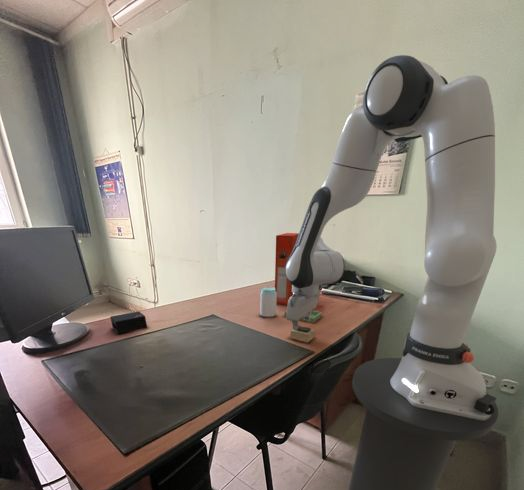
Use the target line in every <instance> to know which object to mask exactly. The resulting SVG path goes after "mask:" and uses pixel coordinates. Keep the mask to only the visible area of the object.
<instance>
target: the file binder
mask: <svg viewBox="0 0 524 490" xmlns="http://www.w3.org/2000/svg"><path fill="white" fill-rule="evenodd" d="M298 235H299V232H286V233H281V234H277V235H275V261H274V262H275V264H274V265H275V266H274V267H275V268H274V288H275V291H276V292H277V299H276V305H280V306H281V305H282V306H287V305H288V300H289V298H290V297H291V296H292V295H293V292H292V284H291V283H290V282H289V281H288V279H287V277H286V274H285V266H286V263H287V260H288V258H289V256H290V255H291V253H292V251H293V249H294V246H295V244H296V241H297V238H298Z"/></svg>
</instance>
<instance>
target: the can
mask: <svg viewBox="0 0 524 490" xmlns="http://www.w3.org/2000/svg"><path fill="white" fill-rule="evenodd" d="M259 297H260V298H259V306H260V307H259V309H260V310H259V315H260V316H261V317H263V318H273V317H275V316H276V315H277V304H276V299H277V292H276V291H275V287H271V286H265V287H262V288H261V290H260V294H259Z"/></svg>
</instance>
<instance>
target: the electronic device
mask: <svg viewBox="0 0 524 490" xmlns="http://www.w3.org/2000/svg"><path fill="white" fill-rule="evenodd" d="M110 322H111V326H112V329H113V330H114V331H115V333H116V334H117V335H120V334H121V335H122V334H125V333H130V332H134V331H138V330H144V329H148V325H147V324H148V323H147V318H146V315H144V314H143V313H142V312H141V311H139V310H138V311H134V312H133V311H132V312H128V313H122V314H117V315H111V316H110Z"/></svg>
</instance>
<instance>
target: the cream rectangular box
mask: <svg viewBox="0 0 524 490" xmlns="http://www.w3.org/2000/svg"><path fill="white" fill-rule="evenodd" d="M314 333H315V329H312V328H311V327H307V326H303V325H299V329H298V330H294V329H293V328H292V329H290V339H291V340H295V341H299V342H304V343H310V342H311V340H313V339H314Z"/></svg>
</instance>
